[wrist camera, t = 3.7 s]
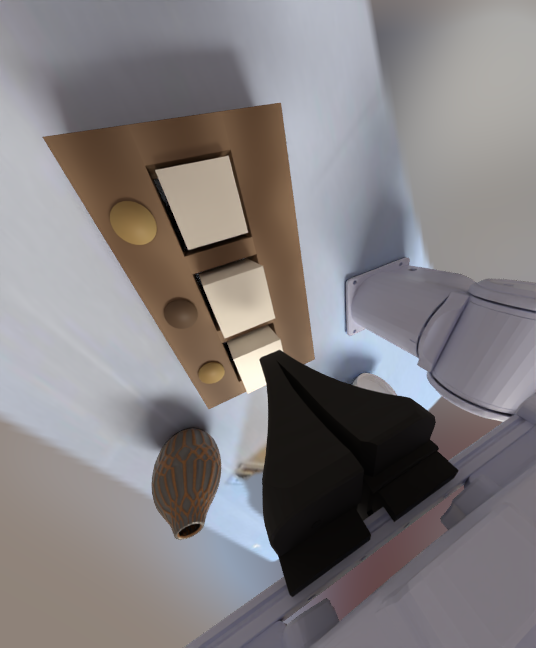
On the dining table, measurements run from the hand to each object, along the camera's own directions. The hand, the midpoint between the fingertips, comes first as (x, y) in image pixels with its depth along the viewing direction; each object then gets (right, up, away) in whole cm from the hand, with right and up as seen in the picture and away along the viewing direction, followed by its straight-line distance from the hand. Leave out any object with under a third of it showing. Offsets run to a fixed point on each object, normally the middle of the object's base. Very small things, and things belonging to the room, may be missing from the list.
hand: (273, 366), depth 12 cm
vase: (-10, -12, +13) cm, 20 cm away
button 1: (-5, +11, +3) cm, 13 cm away
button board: (-4, +6, +6) cm, 10 cm away
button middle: (-3, +6, +5) cm, 8 cm away
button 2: (-2, +1, +8) cm, 8 cm away
